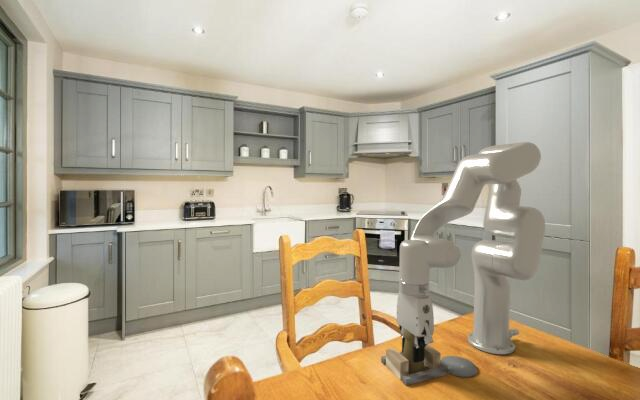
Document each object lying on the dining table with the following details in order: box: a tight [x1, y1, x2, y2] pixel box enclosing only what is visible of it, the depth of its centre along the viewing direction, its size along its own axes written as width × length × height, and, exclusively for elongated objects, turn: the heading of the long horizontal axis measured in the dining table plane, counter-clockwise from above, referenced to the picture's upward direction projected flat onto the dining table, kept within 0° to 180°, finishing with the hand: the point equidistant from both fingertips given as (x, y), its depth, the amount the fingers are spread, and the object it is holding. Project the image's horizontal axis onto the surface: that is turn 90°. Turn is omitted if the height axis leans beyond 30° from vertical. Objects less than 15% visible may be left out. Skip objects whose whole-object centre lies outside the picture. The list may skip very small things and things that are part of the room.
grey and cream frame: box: [380, 344, 448, 386], centre depth 84 cm, size 12×11×4 cm
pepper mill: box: [403, 328, 426, 375], centre depth 84 cm, size 6×6×11 cm
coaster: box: [440, 355, 478, 378], centre depth 84 cm, size 9×9×1 cm
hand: (412, 355), depth 84 cm, fingers closed on pepper mill, 3 cm apart
